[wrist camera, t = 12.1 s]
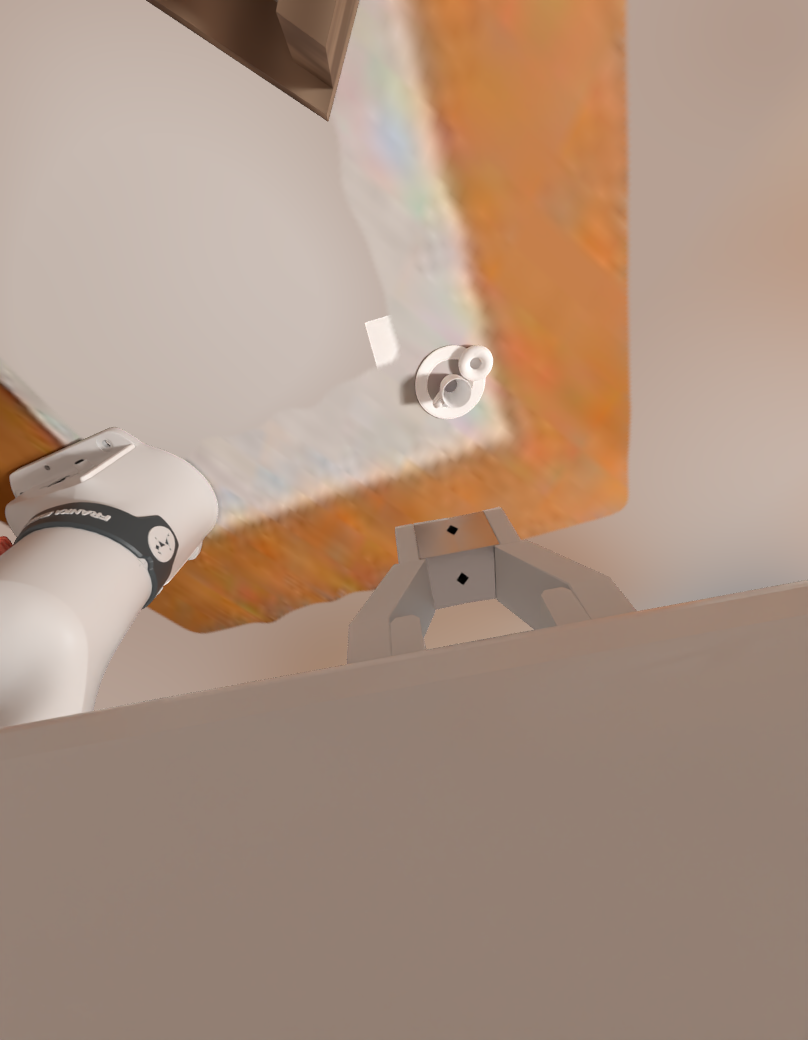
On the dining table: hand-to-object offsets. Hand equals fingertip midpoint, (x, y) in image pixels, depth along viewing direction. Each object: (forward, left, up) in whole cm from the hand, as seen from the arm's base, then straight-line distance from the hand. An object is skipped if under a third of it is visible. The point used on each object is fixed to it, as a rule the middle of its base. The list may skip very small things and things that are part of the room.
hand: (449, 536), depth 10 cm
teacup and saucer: (+9, -7, -35) cm, 36 cm away
